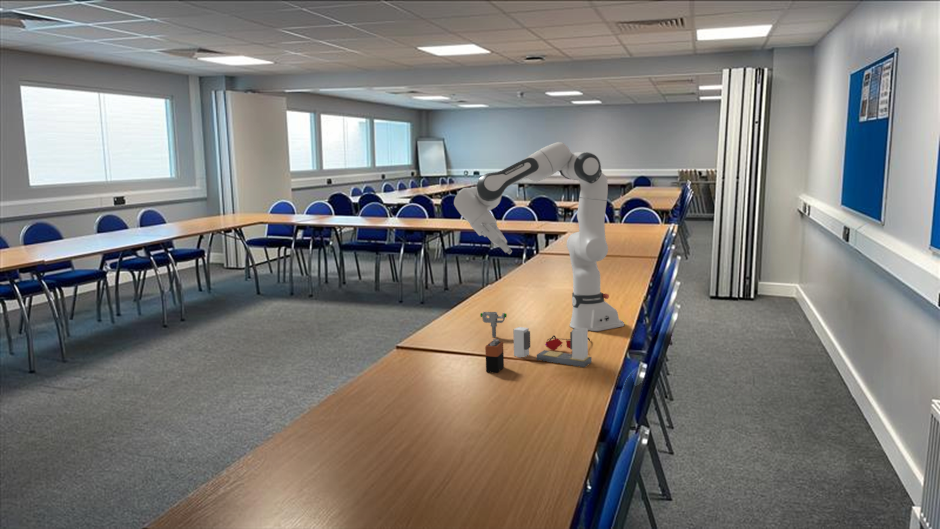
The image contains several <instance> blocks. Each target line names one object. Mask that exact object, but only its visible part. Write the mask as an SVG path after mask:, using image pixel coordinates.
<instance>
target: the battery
mask: <svg viewBox="0 0 940 529" xmlns="http://www.w3.org/2000/svg"><path fill="white" fill-rule="evenodd" d="M484 349H485V371H486V372H487V373H492V372H493V374H494V373H495V374H498V373H499V372H500V371H501V370H502V369H503V368H504V367H505V360H504V359H505V357H504V342H503V341H500V340H499V339H498V338H493V339H492V340H491V341H490V342H489V343H488V344H487V345H485V348H484Z"/></svg>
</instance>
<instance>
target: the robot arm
mask: <svg viewBox="0 0 940 529" xmlns="http://www.w3.org/2000/svg"><path fill="white" fill-rule="evenodd" d="M601 165H602V164H601V161H600V159H599V157H598V156H597V155H595V154H594V153H592V152H583V151H575V152H571V151H570V149H569V147H568V145H566V143H563V142H561V141H557V142H554V143H551V144H548V145H546V146H544V147H542V148H540V149H538V150H537V151H535V152H533V153H532V154H530V155H528V156H527V157H525V158H523V159H522V160H520V161H518V162H516V163H514V164H511V165H510V166H508V167H506V168H504V169H501V170H500V171H493V172H489V173H488V172H487V173H484V174H482V176H480V177H479V179H478V181H477V183H476V186H475V187H463V188H462V189H460V190H459V191H458V192H457V193H456V195H455V197H454V199H453V205H454V207H455V209H456V210H457V212H458V213H459V214H460V216H462V218H463V219H464V220H466V221H467V222H468V223H469V225H470V227H471V229H473V231H474V232H476V234H477V235H478V236H479V237H480V236H483V237H484V238H488V239H489V240H490V242H492V244H494V245H496V246H498V247H499V248H500V249H501V250H502V251H503V252H504V253H507V254H508V255H511V254H512V252H513V250H512V249H511V248H510V247H509V245H508V240H507V239H506V237H505V236H504V234H503V233H502V231H501V229H499V227H498V223H497V219H496V218H495V217H494V215H493V214H492V213H491V212H490V211H492V210H494V209H495V208H496V207H498V205H500V203H501V201H502V196H503V193H504V192H505V190H506V189H507V188H509V187H510V186H512V185H514V184H516V183H518V182H519V181H521V180H523V179H526V178H527V179H528V180H529V181H532V182H536V183H537V182H540V181H543V180H545V179H548V178H549V177H552V176H553V175H555V174H556V173H558V172H559V173H560V175H561V176H562V177H563V178H565V179H568V180H573V181H578V182H579V186H580V191H579V197H578V206H577V212H576V213H577V214H576V219H577V222H578V231H576V232H573V233H571V234H570V235H569V236H568V237H567V240H566V248H567V250H568V253H569V258H570V259H569V260H570V265H571V268H572V269H571V270H572V285H573V286H572V288H573V291H572V293H571V294H572V297H571V301H572V303H571V304H572V312H571V313H572V314H571V319H570V323H569V327H570V328H572V329H575V328H576V327H579V328H587V329H588V331H590V332H591V331H592V332H600V331H605V330H612V329H616V328H619V327H620V328H621V327H624V326H625V322H623V320H621V319H620V318H619V312H618V311H617V309H616V308H614V307H613V306H612V305H611V304H609V303H608V302H606V301H605V299H606V300H608V299H609V298H610V295H609V294H608V293H603V292H601V273H600V270H599V268H598V264H597V262H600V261H602V260H604V259H605V258H606V257H607V255H608V252H609V247H608V245H609V244H608V242H607V241H606V226H605V218H606V217H605V216H606V208H607V204H608V203H607V202H608V195H609V194H608V192H609V190H608V189H609V186H608V185H609V184H608V178H607V176H606V175H605V173H603V170H602V166H601Z"/></svg>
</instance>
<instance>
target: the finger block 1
mask: <svg viewBox="0 0 940 529" xmlns="http://www.w3.org/2000/svg"><path fill="white" fill-rule="evenodd" d="M529 329H530V328H529V327H523V326H518V327H515V328H514V329H513V357H514V356H517V357H516V358H521V357H525V356H526V357H528V356H530V348H531V331H530V330H529ZM527 355H528V356H527ZM526 357H525V358H526Z"/></svg>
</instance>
